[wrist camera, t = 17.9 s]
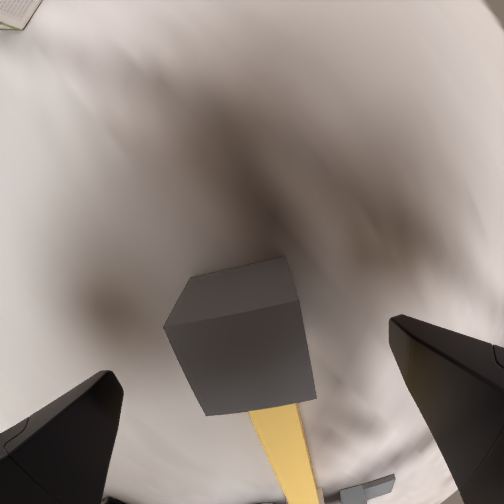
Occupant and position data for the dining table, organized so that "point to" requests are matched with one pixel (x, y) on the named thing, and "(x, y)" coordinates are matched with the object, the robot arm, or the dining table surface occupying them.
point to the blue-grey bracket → (365, 491)
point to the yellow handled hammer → (251, 360)
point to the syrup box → (16, 13)
